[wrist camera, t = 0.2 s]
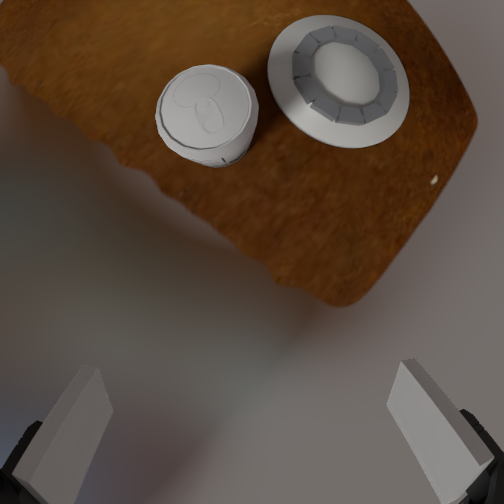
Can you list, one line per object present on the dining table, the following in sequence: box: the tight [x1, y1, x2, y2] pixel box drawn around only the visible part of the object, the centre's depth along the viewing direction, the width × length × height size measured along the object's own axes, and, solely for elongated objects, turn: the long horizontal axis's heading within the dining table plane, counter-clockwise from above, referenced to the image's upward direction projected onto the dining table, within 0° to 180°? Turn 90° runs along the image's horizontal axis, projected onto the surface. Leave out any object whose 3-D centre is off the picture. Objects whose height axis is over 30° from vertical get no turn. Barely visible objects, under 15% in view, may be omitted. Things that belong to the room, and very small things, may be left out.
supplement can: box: [155, 65, 259, 168], centre depth 26 cm, size 8×8×15 cm
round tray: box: [267, 15, 409, 148], centre depth 31 cm, size 20×20×3 cm
